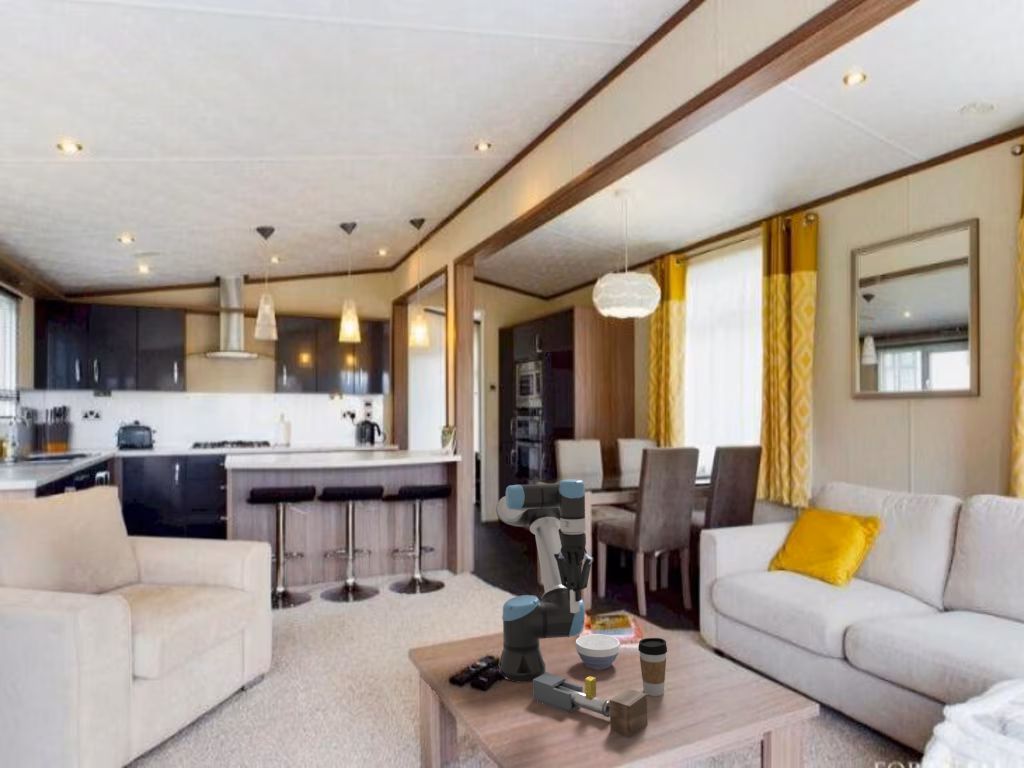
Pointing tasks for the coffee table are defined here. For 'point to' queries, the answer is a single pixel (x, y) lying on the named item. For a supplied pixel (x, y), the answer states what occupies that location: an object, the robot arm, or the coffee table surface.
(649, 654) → the coffee cup
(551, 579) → the robot arm
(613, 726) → the socket
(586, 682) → the tube
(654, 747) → the coffee table surface
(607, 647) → the bowl
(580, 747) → the coffee table surface
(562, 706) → the sleeve
